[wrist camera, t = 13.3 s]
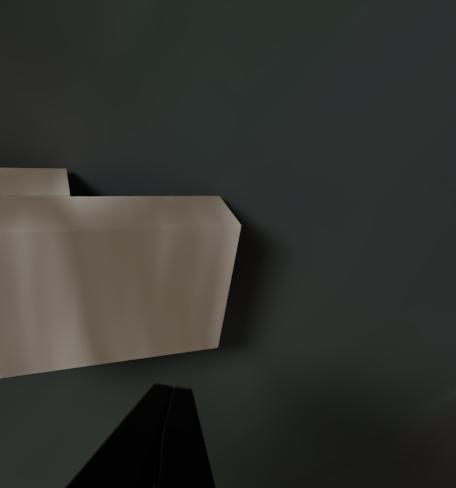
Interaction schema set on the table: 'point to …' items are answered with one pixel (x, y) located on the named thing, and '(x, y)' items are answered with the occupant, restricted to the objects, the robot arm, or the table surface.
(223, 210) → the domino
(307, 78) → the table surface
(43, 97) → the table surface
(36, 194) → the domino
